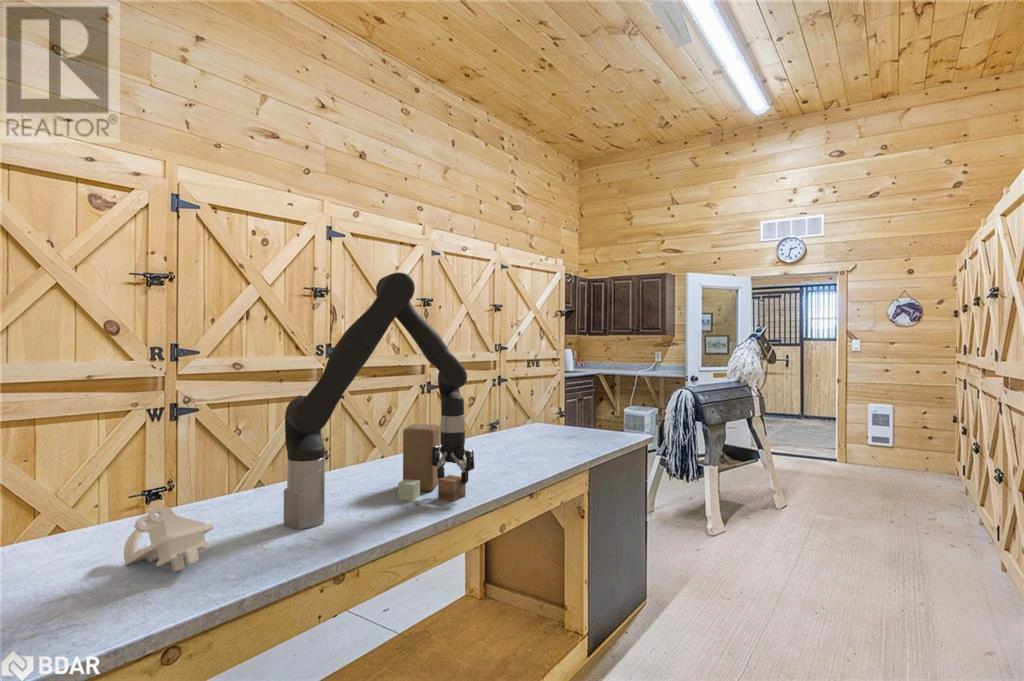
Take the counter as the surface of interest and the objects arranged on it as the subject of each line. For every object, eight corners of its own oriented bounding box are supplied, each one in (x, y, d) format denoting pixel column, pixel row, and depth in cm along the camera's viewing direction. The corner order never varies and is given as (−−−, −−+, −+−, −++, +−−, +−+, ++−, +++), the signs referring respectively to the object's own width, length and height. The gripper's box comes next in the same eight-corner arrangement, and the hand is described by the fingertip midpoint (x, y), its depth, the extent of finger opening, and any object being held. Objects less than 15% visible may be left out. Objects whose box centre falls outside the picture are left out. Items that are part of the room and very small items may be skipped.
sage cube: (413, 501, 161) (413, 484, 161) (397, 499, 162) (398, 483, 162) (420, 496, 166) (420, 480, 166) (405, 495, 167) (405, 479, 167)
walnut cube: (454, 501, 161) (454, 481, 161) (438, 498, 163) (438, 479, 163) (465, 496, 166) (465, 477, 166) (449, 493, 169) (449, 474, 169)
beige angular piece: (125, 593, 112) (113, 532, 115) (183, 573, 122) (170, 517, 125) (167, 570, 102) (152, 504, 106) (226, 550, 112) (211, 490, 115)
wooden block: (439, 483, 180) (440, 424, 180) (432, 492, 170) (433, 429, 170) (410, 482, 181) (411, 423, 181) (401, 491, 171) (402, 428, 171)
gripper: (426, 429, 165) (426, 481, 165) (465, 433, 158) (465, 488, 158) (441, 425, 171) (441, 476, 172) (478, 429, 165) (478, 482, 165)
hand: (452, 481), depth 165 cm, fingers open, 8 cm apart
